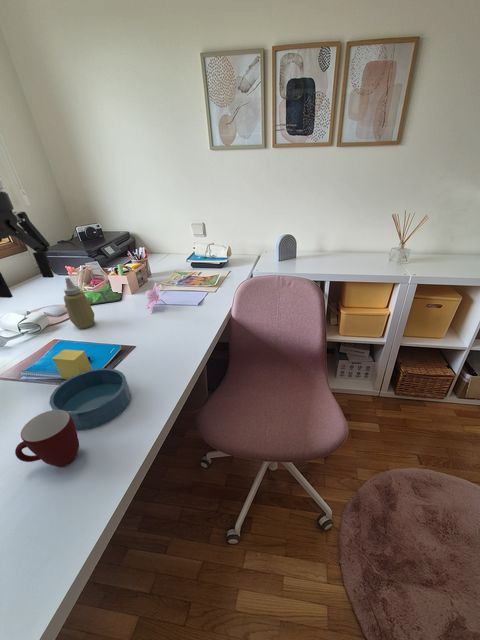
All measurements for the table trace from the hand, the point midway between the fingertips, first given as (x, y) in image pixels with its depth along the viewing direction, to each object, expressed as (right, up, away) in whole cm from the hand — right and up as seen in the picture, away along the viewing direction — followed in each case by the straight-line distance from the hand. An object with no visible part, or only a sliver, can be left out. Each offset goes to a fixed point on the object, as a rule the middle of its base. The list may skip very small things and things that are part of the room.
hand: (29, 286), depth 76 cm
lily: (+16, +1, +46) cm, 49 cm away
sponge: (+7, -23, +9) cm, 26 cm away
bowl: (+17, -30, -1) cm, 34 cm away
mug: (+18, -39, -15) cm, 45 cm away
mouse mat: (-16, +10, +60) cm, 63 cm away
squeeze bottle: (-6, -7, +35) cm, 36 cm away
